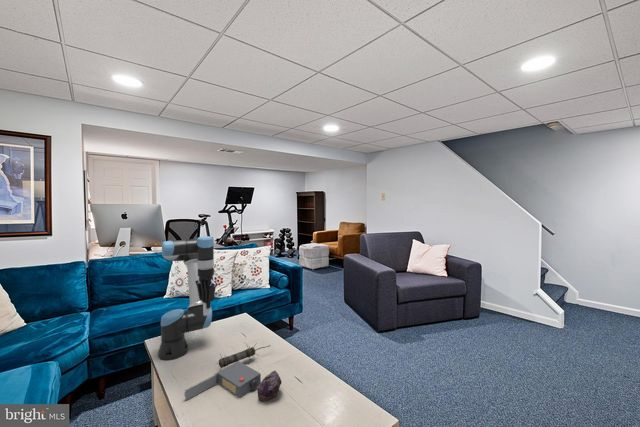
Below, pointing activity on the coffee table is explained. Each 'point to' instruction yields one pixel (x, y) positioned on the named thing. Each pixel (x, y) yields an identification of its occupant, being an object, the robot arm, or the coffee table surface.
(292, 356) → the coffee table surface
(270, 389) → the rock
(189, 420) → the coffee table surface
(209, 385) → the side door
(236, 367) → the camera body
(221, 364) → the bomb
